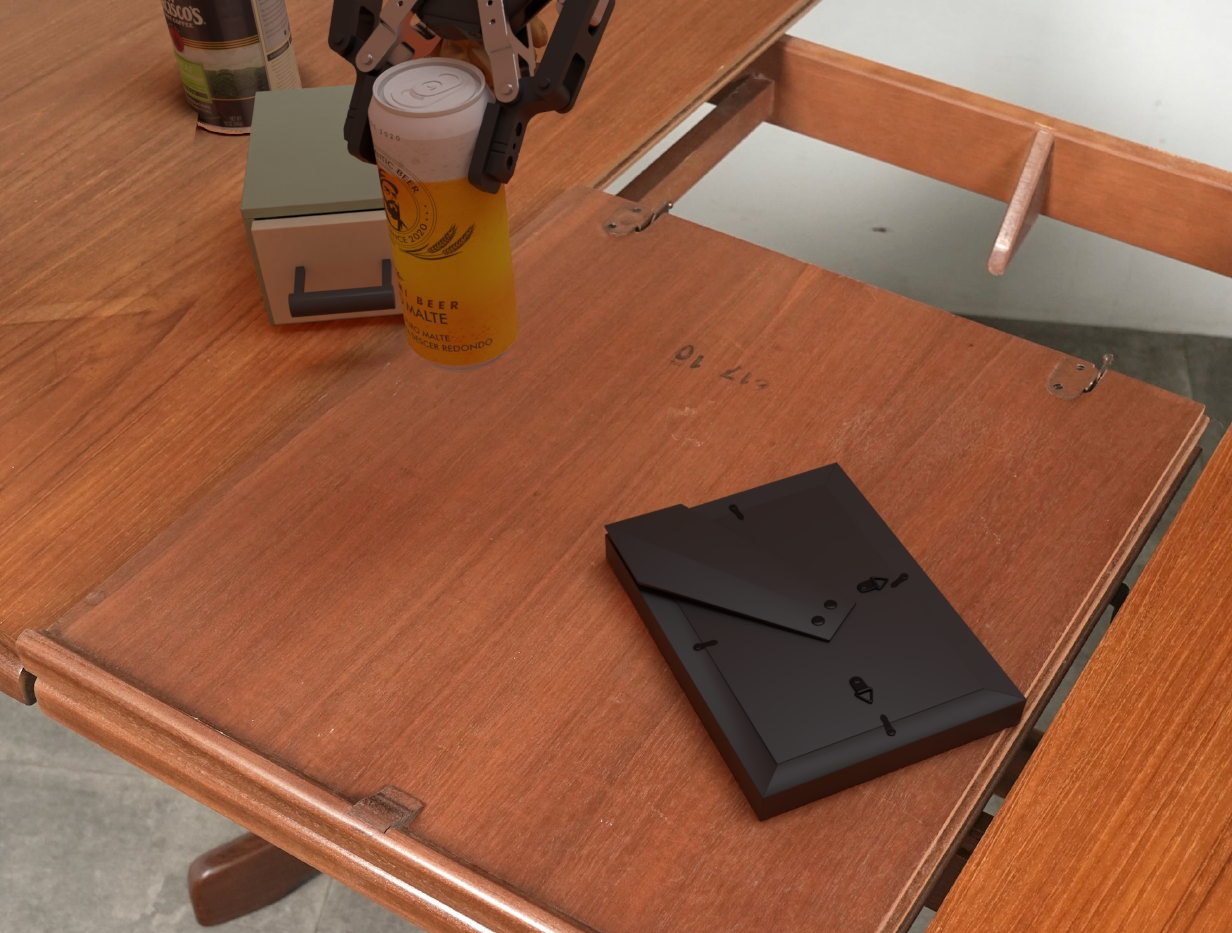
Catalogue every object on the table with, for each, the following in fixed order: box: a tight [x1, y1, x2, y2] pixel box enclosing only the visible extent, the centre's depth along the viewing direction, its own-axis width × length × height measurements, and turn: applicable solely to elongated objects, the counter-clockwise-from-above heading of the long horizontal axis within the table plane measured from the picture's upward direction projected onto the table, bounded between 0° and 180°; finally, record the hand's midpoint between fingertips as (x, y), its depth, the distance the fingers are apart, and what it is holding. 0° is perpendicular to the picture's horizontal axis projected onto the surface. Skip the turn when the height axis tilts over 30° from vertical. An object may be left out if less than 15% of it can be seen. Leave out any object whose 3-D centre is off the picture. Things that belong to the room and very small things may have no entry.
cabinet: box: [239, 83, 403, 327], centre depth 103 cm, size 17×13×10 cm
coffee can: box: [160, 0, 303, 132], centre depth 117 cm, size 10×10×14 cm
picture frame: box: [604, 461, 1028, 822], centre depth 78 cm, size 16×3×21 cm
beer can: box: [368, 57, 520, 373], centre depth 70 cm, size 6×6×15 cm
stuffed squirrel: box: [429, 15, 549, 98], centre depth 120 cm, size 10×14×13 cm
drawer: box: [251, 208, 403, 325], centre depth 100 cm, size 20×11×8 cm, turn 6°
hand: (422, 172), depth 66 cm, fingers closed on beer can, 6 cm apart
